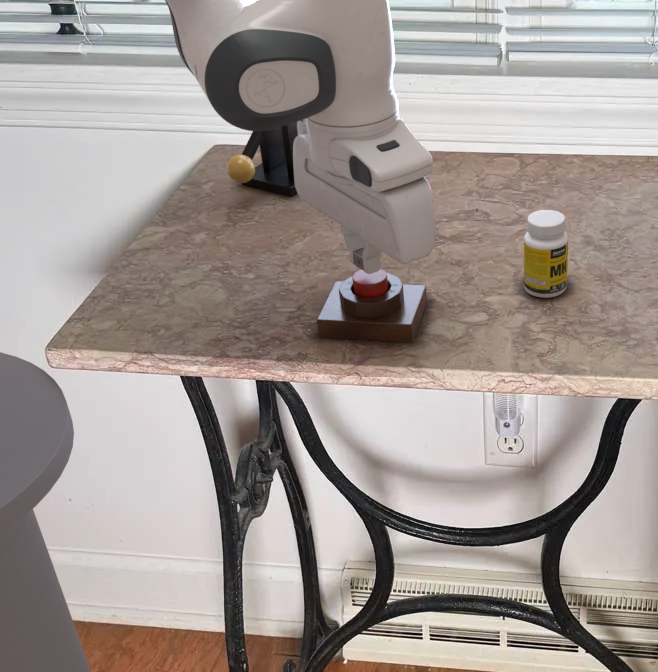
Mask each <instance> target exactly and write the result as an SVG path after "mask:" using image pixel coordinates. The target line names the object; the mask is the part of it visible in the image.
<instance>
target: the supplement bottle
mask: <svg viewBox="0 0 658 672" xmlns="http://www.w3.org/2000/svg"><path fill="white" fill-rule="evenodd" d="M526 220H527V222H526V223H527V224H526V227H527V229H526V230H527V232H526V233H525V234H524V236H523V287H524V290H525V292H526V293H528V294H529V295H531V296H533V297H536V298H543V299H549V298H555V297H558V296H560V295H562V294H563V293H564V292H565V291H566V289H567V287H568V264H569V263H568V262H569V257H568V256H569V236H568V234H567V231H566V217H565V215H564V214H563V213H562V212H560V211H558V210H553V209H540V210H535V211H533V212H531V213H530V214H529V215H528V216H527V219H526Z"/></svg>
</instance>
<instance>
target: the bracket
mask: <svg viewBox="0 0 658 672" xmlns="http://www.w3.org/2000/svg"><path fill="white" fill-rule="evenodd" d="M297 136H298V130H297V122H294V123H291V124H288V125H285V126H282V127H278V128H275V129H271V130H267V131H266V133H265V135H264V137H263V139H262V141H261V143H260V145H259V151H260V157H261V163H259V164H258V165H255V174H254V176H253V178H252V179H251V180H250V181H248V182H246V183H241V185H242V186H245V187H250V188H253V189H258V190H262V191H267V192H271V193H274V194H279V195H283V196H288V197H290V198H292V197H294V196H295V195H297V194H298V193H297V190H296V188H295V182H294V168H293V144H294V140H295V138H296V137H297Z"/></svg>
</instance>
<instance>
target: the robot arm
mask: <svg viewBox="0 0 658 672" xmlns="http://www.w3.org/2000/svg"><path fill="white" fill-rule="evenodd" d="M164 1H165V3H166V5H167V7H168V10H169V15H170V20H171V26H172V32H173V37H174V42H175V46H176V49H177V52H178V54H179V57H180V59H181V61H182V62H183V64H184V66H185V67H186V68H187V70H188V71H189V72H190V73H191V74H192V76H193V77H194V78H195V80H196V81H197V83H198V86H199V87H200V88H201V90H202V92H203V93H204V94H203V95H204V96H205V97H206V99H207V100H208V102H209V103H210V105H211V107H212V108H213V109H214V112H216V114H217V115H219V117H221V118H222V120H223V121H225V122H226V123H228V124H229V125H231V126H233V127H235V128H237V129H241V130H243V131H248V132H253V131H266V130H271V129H275V128H278V127H282V126H285V125H288V124H291V123H294V122H297V130H298V136H297V137H296V138H295V140H294V144H293V168H294V182H295V188H296V190H297V193H296V194H297V195H298V197H299V199H300V200H301V201H302V202H304V203H305V204H307V205H309V206H310V207H312V208H313V209H315V210H317V211H318V212H320V213H321V214H323V215H324V216H326V217H327V218H329V219H330V220H332V221H334V222H335V223H337V224H338V225H339V226H340V232H341V234H342V237H343V239H344V241H345V243H346V245H347V248H348V249H349V255H350V262H351V264H352V265H354V266H355V267H357V268H358V269H359V270H361V269H362V270H363V271H364V272H366V273H367V274H372V273H374V272H377V271H379V270H380V269H382V268H381V267H382V262H381V255H382V253H383V254H385V255H387V256H389V257H390V258H392V259H393V260H395V261H396V262H397V263H399V264H401V265H408V264H411V263H413V262H416V261H419V260H421V259H424V258H426V257H428V256H430V254H431V253H432V252H433V250H434V248H435V245H436V219H435V217H436V216H435V205H434V203H435V202H434V195H433V191H432V188H431V185H430V183H429V181H428V180H427V178H426V177H427V176H429V175H431V174H432V173H433V172H434V171H433V170H434V164H433V163H434V162H433V161H434V160H433V157H432V154H431V153H430V152H429V150H428V149H427V148H426V147H425V146H424V145H423V144H422V143H421V142H420V141H419V140H418V138H416V136H415V135H414V134H413V133H412V132H411V130H410V128H409V127H408V126H407V124H406V122H405V121H404V120H403V119H402V118H400V111H399V110H400V109H399V101H398V96H397V94H396V92H395V89H394V84H393V74H394V70H395V65H396V51H395V40H394V30H393V23H392V22H393V21H392V15H391V11H390V10H391V8H390V2H389V0H164Z"/></svg>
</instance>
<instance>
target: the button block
mask: <svg viewBox="0 0 658 672" xmlns="http://www.w3.org/2000/svg"><path fill="white" fill-rule="evenodd" d="M386 273H387V279H388V292H387V293H385V294H383V295H381V296H377V297H372V298H366V297H359V296H357V295H355V293H354V288H353V279H352V277H353V275H352V276H350V277H348V278H347V279H345V280H343V281H342V280H341V281H340V280H336V281H335V282H334V284H333V285H332V288H331V290H330V292H329V294H328V296H327V298H326V300H325V302H324V305H323V307H322V308H321V310H320V312H319V314H318V316H317V318H316V324H317V329H318V330H317V331H318V337H319V338H323V339H341V340H359V341H375V342H377V341H378V342H392V343H393V342H395V343H414V341H415V337H416V335H417V332H418V329H419V326H420V324H421V321H422V318H423V315H424V312H425V310H426V307H427V304H428V295H427V285H424V284H423V285H422V284H404V283H402V281H401V280H400V278H399V276H397V275H394V274H392V273H389V272H386Z"/></svg>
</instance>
